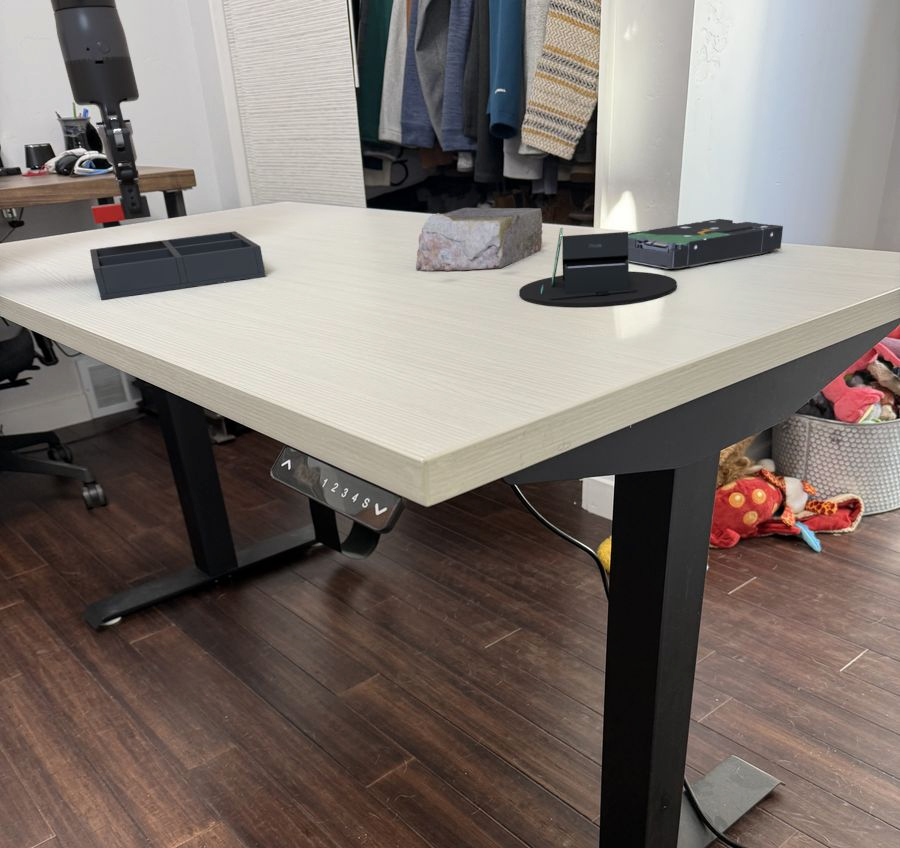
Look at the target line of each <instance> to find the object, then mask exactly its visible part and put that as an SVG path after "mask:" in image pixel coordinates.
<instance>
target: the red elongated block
mask: <svg viewBox="0 0 900 848" xmlns="http://www.w3.org/2000/svg"><path fill="white" fill-rule="evenodd" d="M141 199H142V203H143V207H144V211H145V214H144V216H142V217H135V218H130V217H128V216H127V214H126V210H125V206H124V202H123V198H122V197H119V202H116V203H109V204H99V205H92V206H91V207H90V208H91V212H92V215H93V219H94V224H96V225H98V224H104V223H112V222H114V223H115V222H123V221H128V220H135V219H144V218H151V216H152V215H151V209H150V206H149V203H148V198H147V195H145V194H142V195H141Z"/></svg>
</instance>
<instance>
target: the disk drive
mask: <svg viewBox="0 0 900 848" xmlns="http://www.w3.org/2000/svg"><path fill="white" fill-rule="evenodd" d="M733 221H734V220H733V219H724V218H717V219H716V218H715V219H709V220H703V221H696V222H691V223H684V224H679V225H673V226H668V227H661V228H659V227H658V228H655V229H654V228H653V229H648V230H641V231H635V232H628V262H631V263H635V264H640V265H646V266H651V267H655V268H656V267H657V268H663V269H666V270H667V269H668V270H669V269H683V268H689V267H691V268H693V267H700V266H704V265H707V264H710V263H715V262H724V261H731V260H737V259H742V258H747V257H752V256H759V255H762V254H763V255H765V254H766V253H769V252H774V251H775V250H779V249H781V248H782V240H783V230H784V226H783V225H778V224H768V223H758V222H752V221H744V222H733Z"/></svg>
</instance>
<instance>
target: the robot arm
mask: <svg viewBox="0 0 900 848" xmlns="http://www.w3.org/2000/svg"><path fill="white" fill-rule="evenodd" d="M50 4H51V9H52V11H53V17H54V21H55V30H56V36H57V39H58V44H59V48H60V51H61V56H62V60H63V63H64V66H65V70H66V71H65V72H66V74H67V78H68V83H69V85H70V89H71V94H72V97H73V101H74V102H75V104H76V105H78V106H96V107H97V108H98V109H99V113H100V117H101V121H98V122H97V121H96V122H95V125H96V131H97V134H98V137H99V138H100V139H101V141H102V146H103V150H104V153H105V157H106V161H107V162H108V164H110V165H112V175H113V177H114V181H115V182H116V184H117V185H118V189H119V192H120V196H121V197H120V198H123V202H124V206H125V210H126V214H127V216H128V217H130V218H135V217H142V216H144V214H145V211H144V207H143V203H142V199H141V191H140V187H139V184H140V181H139V180H140V177H139V176H140V175H139V170H138V169H137V166H136V162H137V160H138V155H137V152H136V147H135V143H134V140H133V134H134V129H133V127H132V123H131V119H124V116H123V113H122V110H121V104H122V103H127V102H128V103H131V102H135V101H138V100H139V98H140V93H139V89H138V85H137V80H136V76H135V72H134V67H133V62H132V57H131V53H130V49H129V45H128V40H127V37H126V32H125V29H124V26H123V23H122V20H121V18H120V15H119V10H118V8H117V7H118V6H117V3H116V0H50ZM120 164H127V165H120Z"/></svg>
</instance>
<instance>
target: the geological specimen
mask: <svg viewBox="0 0 900 848" xmlns="http://www.w3.org/2000/svg"><path fill="white" fill-rule="evenodd" d="M542 228H543V216H542V208H532V207H519V208H518V207H517V208H516V207H515V208H514V207H513V208H511V207H509V208H508V207H507V208H505V207H502V208H501V207H463V208H459V209H456V210H452V211H448V212H445V213H439V212H438V213H436V214H431V215H429V216H428V219H427V220H426V221H425V222H424V224H423V226H422V228H421V233H420V234H419V236H418V248H417V251H416V253H417V254H416V256H417V257H416V262H415V263H416V264H415V270H416V271H418V272H419V271H421V272H431V271H432V272H433V271H447V272H448V271H449V272H450V271H470V270H482V269H484V270H485V269H501V268H504V267H506V266H508V265H511V264H513V263H514V264H515V263H516V262H519V261H521V260H523V259H526V258H528V257H530V256H533V255H535V254H537V253H538V252H540V251H541V250H542V244H543V229H542Z"/></svg>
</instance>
